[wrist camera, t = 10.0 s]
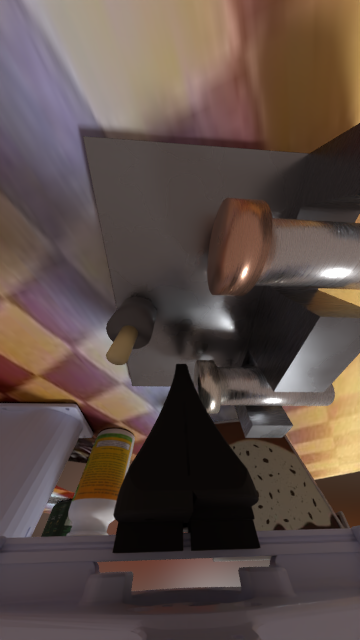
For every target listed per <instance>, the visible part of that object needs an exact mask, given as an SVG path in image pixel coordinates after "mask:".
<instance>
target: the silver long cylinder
mask: <svg viewBox="0 0 360 640" xmlns="http://www.w3.org/2000/svg"><path fill="white" fill-rule="evenodd" d="M194 386H195V389H196V391H197V393H198V395H199V397H200V399H201V401H202V403H203V405H204V407H205V409H206V410H207V412H208V414H217V413H218V412H219V409H220V405H253V406H328V405H330V404H331V403H332V402H333V400H334V397H335V392H334V388H333V385H332V384H331V385H330V386H329V387H328V388H327V389H326V390H325V391H324V392H274V391H273V390H272V388H271V387H270V385H269V383H268V382H267V380H266V378H265V377H264V375H263V373H262V372H261V370H260V369H259V368H247V367H217V366H216V363H215V362H214V361H213V360H196V362H195V368H194Z"/></svg>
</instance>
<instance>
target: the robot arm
mask: <svg viewBox="0 0 360 640" xmlns="http://www.w3.org/2000/svg"><path fill="white" fill-rule="evenodd" d="M92 436H93V432H92V430H91V428H90V427H89V425H88V423H87V421H86V419H85V418H84V416H83V414H82V412H81V411H80V409H79V407H78V406H77V405H76V404H43V403H0V640H360V526H355V527H352V528H345V529H309V530H273V531H256V529H255V525H254V521H253V519H255V518H254V513H253V510H252V506H253V505H255V504H256V503H257V502H258V501H259V498H258V494H257V490H256V488H255V485H254V483H253V480H252V478H251V476H250V474H249V471H248V469H247V468H246V466H245V465H244V464H243V463H242V461H241V460H240V459H239V458H238V456H237V455H236V454H235V452H234V451H233V450H232V448H231V447H230V446H229V444H228V443H227V441H226V440H225V439H224V437H223V436H222V434H221V433H220V431H219V430H218V428H217V427H216V425H215V424H214V422H213V421H212V419H211V417H210V416H209V414H208V412H207V410H206V409H205V407H204V405H203V403H202V401H201V399H200V397H199V395H198V393H197V391H196V389H195V386H194V384H193V382H192V379H191V376H190V373H189V370H188V366H187V364H176V369H175V374H174V378H173V382H172V385H171V388H170V391H169V393H168V396H167V399H166V401H165V403H164V406H163V408H162V410H161V412H160V414H159V417H158V419H157V421H156V423H155V424H154V426H153V428H152V430H151V432H150V434H149V435H148V437H147V439H146V441H145V443H144V444H143V446H142V448H141V449H140V451H139V453H138V454H137V456H136V457H135V459H134V461H133V462H132V464H131V465H130V467H129V469H128V471H127V473H126V476H125V478H124V480H123V482H122V485H121V487H120V490H119V493H118V496H117V500H116V505H115V509H114V514H113V515H114V518H115V519H116V520H117V521H118V527H117V532H116V535H91V536H55V537H31V535H32V533H33V531H34V529H35V527H36V525H37V523H38V521H39V519H40V516H41V514H42V513H43V511H44V508H45V506H46V504H47V502H48V500H49V498H50V496H51V494H52V492H53V490H54V488H55V486H56V484H57V481H58V479H59V477H60V475H61V473H62V471H63V469H64V467H65V465H66V463H67V461H68V459H69V457H70V455H71V452H72V450H73V448H74V446H75V444H76V442H77V440H78V438H91V437H92ZM183 532H188V533H183ZM253 556H272V557H271V558H270V565H269V567H243V568H239V570H238V571H239V577H240V582H241V587H202V588H201V587H198V588H172V589H156V590H144V591H131V588H132V581H133V573H132V572H106V573H100V572H99V566H98V563H97V562H107V561H137V560H166V559H192V558H224V557H253Z"/></svg>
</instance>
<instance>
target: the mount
mask: <svg viewBox="0 0 360 640" xmlns="http://www.w3.org/2000/svg"><path fill="white" fill-rule="evenodd" d="M83 138H84V144H85V149H86V154H87V159H88V164H89V169H90V174H91V179H92V184H93V189H94V194H95V199H96V205H97V210H98V215H99V220H100V225H101V230H102V235H103V240H104V245H105V250H106V255H107V260H108V266H109V271H110V276H111V281H112V286H113V291H114V296H115V301H116V306H117V309H118V308H119V307H120V306H121V304H122V303H123V302H124V301H125V300H126V299H128V298H130V297H142V298H145V299H147V300H148V301H150V302H151V303H152V304H153V305H154V307H155V309H156V314H157V315H156V320H155V324H154V328H153V332H152V336H151V340H150V341H149V343H148V344H147V345H146V346H144V347H142V348H139V349H132V351H131V354H130V356H129V359H128V361H127V362H128V367H129V372H130V377H131V382H132V386H171V385H172V382H173V378H174V374H175V369H176V364H187V366H188V370H189V373H190V376H191V379H192V382H193V384H194V368H195V362H196V360H213V361H214V362H215V363H216V366H217V367H247V368H259V369H260V370H261V372H262V373H263V375H264V377H265V378H266V380H267V382H268V383H269V385H270V387H271V388H272V390H273V391H274V392H324V391H325V390H326V389H327V388H328V387H329V386H330V385H331V384H332V383H333V382H334V380H335V379H336V378H337V377H338V376H339V375H340V374H341V373H342V372H343V371H344V369H345V368H346V367H347V366H348V365H349V364H350V363H351V362H352V361H353V360H354V359H355V357H356V356H357V355H358V354H359V353H360V307H359V306H357V305H354V304H352V303H349V302H347V301H344V300H342V299H339V298H337V297H334V296H332V295H329V294H327V293H324V292H322V291H319V290H318V288H306V287H281V286H256V285H254V287H253V288H252V289H251V290H250V291H249V292H248V293H247V294H245V295H243V296H224V295H212V294H211V293H210V291H209V287H208V280H207V263H208V252H209V244H210V239H211V233H212V229H213V225H214V221H215V218H216V215H217V212H218V210H219V207H220V205H221V203H222V202H223V200H224V199H225V198H240V199H256V200H264V201H266V202H267V203H268V205H269V207H270V209H271V213H272V218H280V219H297V220H315V221H332V222H349V223H355V221H356V219H357V217H358V215H359V214H360V123H359V124H358V125H356V126H354V127H353V128H351V129H349V130H348V131H346V132H344V133H343V134H341V135H339V136H338V137H336V138H334V139H333V140H331V141H329V142H328V143H326V144H324V145H323V146H321V147H320V148H318V149H316V150H315V151H313V152H311V153H310V154H307V153H294V152H281V151H268V150H255V149H242V148H229V147H216V146H202V145H189V144H176V143H163V142H150V141H137V140H124V139H111V138H98V137H85V136H83ZM234 406H235V409H236V412H237V415H238V418H239V421H240V424H241V427H242V430H243V433H244V436H245V438H282V437H283V436H284V435H285V434H286V433H287V432H288V431H289V430H290V429H291V427H292V426H293V424H292V423H291V421H290V419H289V418H288V416H287V414H286V413H285V411H284V409H283V408H282V406H253V405H234Z"/></svg>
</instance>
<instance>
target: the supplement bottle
mask: <svg viewBox="0 0 360 640" xmlns="http://www.w3.org/2000/svg"><path fill="white" fill-rule="evenodd" d="M134 440H135V438H134V436H133V434H132V433H130V432H128V431H126V430H123V429H117V428H113V429H106V430H103V431H101V432H100V433H99V434H98V436H97V439H96V441H95V444H94V446H93V449H92V451H91V454H90V456H89V459H88V462H87V464H86V467H85V469H84V472H83V475H82V477H81V480H80V482H79V485H78V487H77V490H76V492H75V495H74V497H73V500H72V502H71V505H70V508H69V512H68V516H69V519H70V521H72V523H73V524H72V528H71V531H70V533H67V535H66V536H91V535H108V534H107V533H106V532H107V527H108V525H109V523H110V522H112V521H114V520H115V518H114V515H113V514H114V509H115V505H116V500H117V496H118V493H119V490H120V487H121V485H122V482H123V480H124V478H125V476H126V473H127V471H128V469H129V465H130V460H131V456H132V451H133V446H134Z"/></svg>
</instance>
